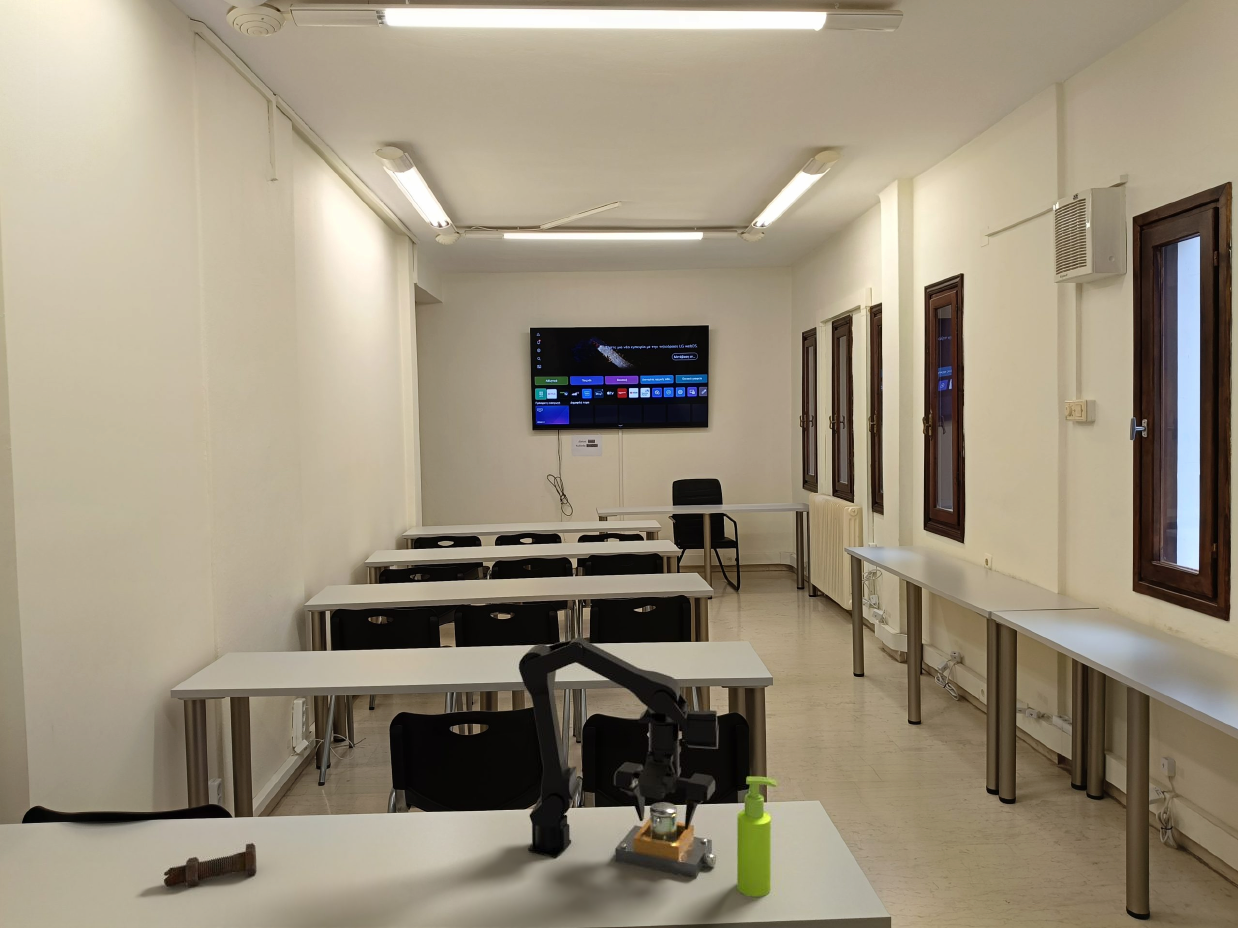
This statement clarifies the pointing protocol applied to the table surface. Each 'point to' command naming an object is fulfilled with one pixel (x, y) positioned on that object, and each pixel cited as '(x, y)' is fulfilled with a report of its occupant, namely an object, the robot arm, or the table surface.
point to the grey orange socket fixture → (666, 851)
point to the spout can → (663, 822)
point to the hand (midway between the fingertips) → (664, 824)
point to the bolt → (212, 868)
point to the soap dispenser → (754, 842)
